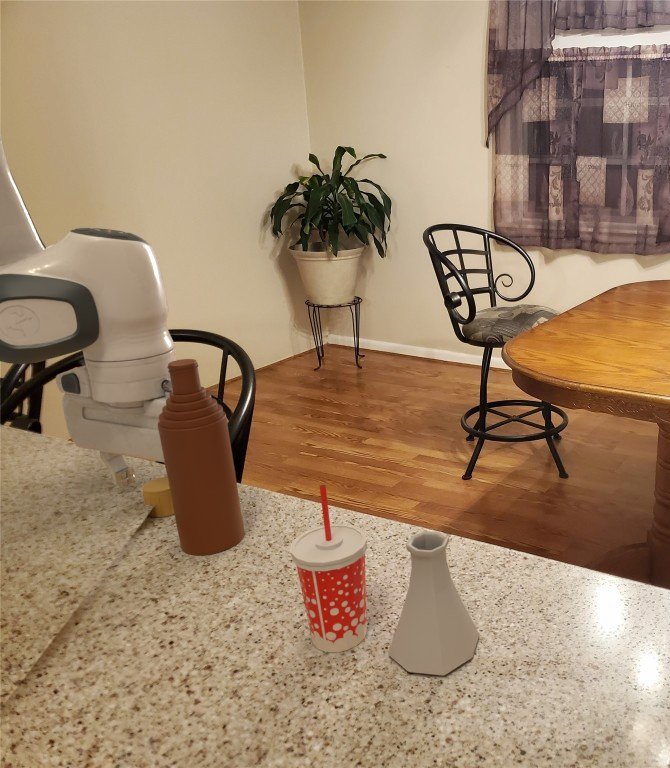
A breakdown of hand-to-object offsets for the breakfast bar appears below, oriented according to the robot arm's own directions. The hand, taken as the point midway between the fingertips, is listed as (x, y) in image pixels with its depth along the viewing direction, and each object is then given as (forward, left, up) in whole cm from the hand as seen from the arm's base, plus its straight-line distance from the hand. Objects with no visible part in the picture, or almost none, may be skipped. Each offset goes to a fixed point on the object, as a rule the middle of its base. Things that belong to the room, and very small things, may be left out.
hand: (155, 489), depth 80 cm
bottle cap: (+1, 0, -3) cm, 3 cm away
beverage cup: (+24, -27, -3) cm, 36 cm away
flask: (+32, -30, -3) cm, 44 cm away
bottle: (+8, -8, -3) cm, 12 cm away
